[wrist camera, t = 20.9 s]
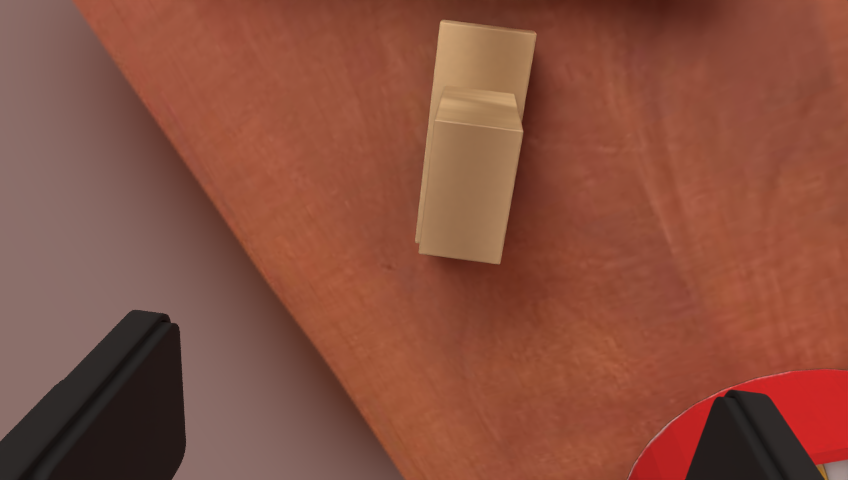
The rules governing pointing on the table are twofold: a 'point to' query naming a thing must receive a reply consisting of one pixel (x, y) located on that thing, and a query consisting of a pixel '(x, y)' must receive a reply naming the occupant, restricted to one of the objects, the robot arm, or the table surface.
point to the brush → (473, 140)
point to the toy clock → (798, 404)
